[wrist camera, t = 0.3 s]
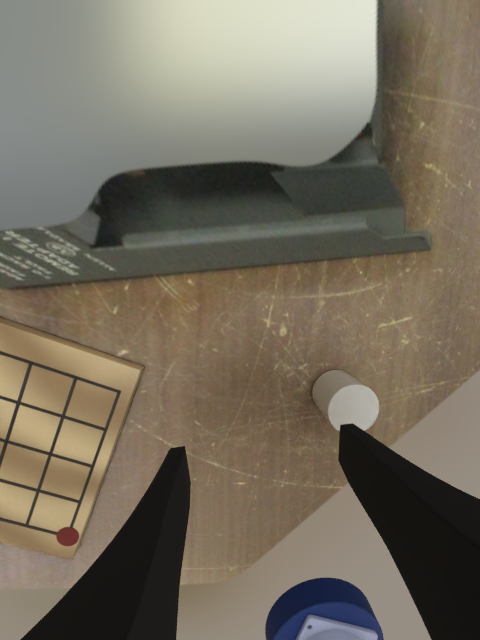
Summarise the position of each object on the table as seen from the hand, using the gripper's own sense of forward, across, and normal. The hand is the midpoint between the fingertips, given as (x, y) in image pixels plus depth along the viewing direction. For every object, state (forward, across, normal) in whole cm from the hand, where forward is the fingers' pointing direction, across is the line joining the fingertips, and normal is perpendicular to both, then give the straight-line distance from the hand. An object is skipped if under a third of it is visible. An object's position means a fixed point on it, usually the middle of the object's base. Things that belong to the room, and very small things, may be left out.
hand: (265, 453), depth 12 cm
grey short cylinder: (+10, -8, +4) cm, 13 cm away
